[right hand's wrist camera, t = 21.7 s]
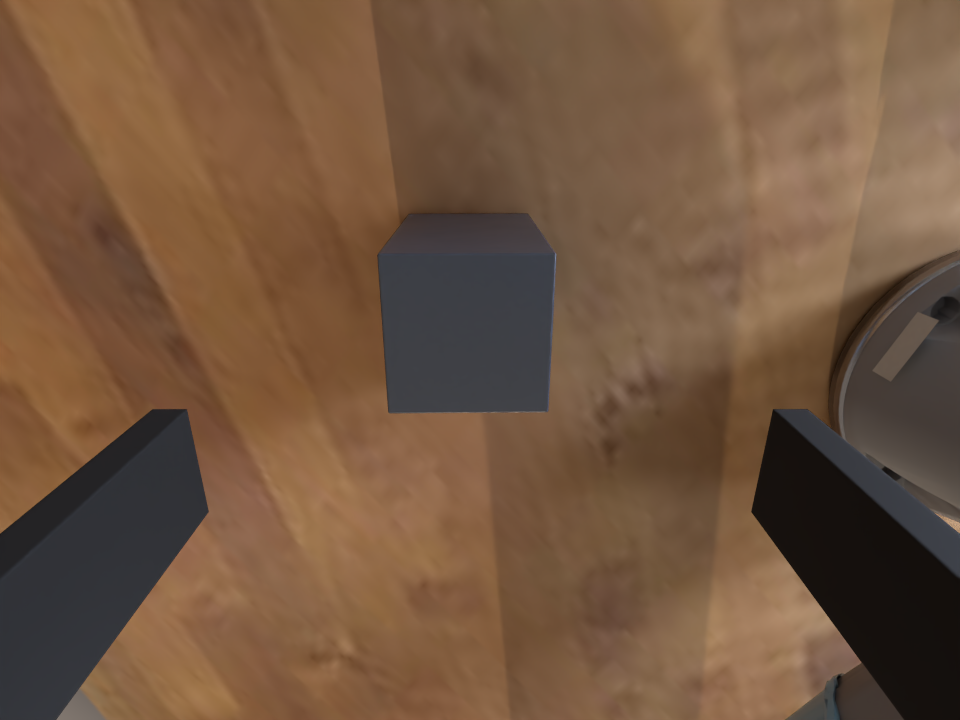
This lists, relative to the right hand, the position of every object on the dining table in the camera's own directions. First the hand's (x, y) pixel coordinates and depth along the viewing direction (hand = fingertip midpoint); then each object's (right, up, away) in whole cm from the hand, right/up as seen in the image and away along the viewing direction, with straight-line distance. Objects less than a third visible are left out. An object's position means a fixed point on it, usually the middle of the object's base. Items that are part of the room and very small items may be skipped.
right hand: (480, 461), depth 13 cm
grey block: (-1, +7, +16) cm, 18 cm away
